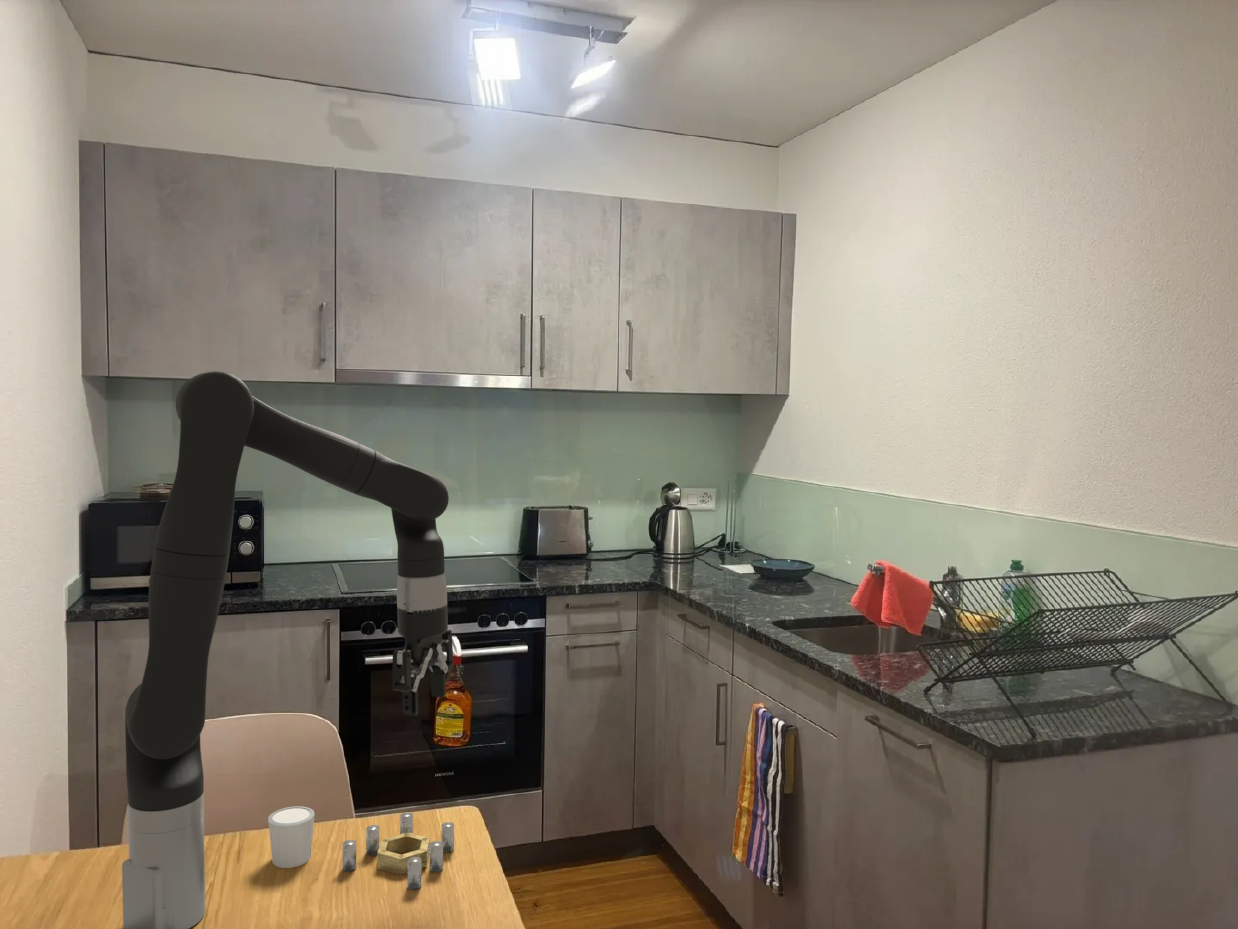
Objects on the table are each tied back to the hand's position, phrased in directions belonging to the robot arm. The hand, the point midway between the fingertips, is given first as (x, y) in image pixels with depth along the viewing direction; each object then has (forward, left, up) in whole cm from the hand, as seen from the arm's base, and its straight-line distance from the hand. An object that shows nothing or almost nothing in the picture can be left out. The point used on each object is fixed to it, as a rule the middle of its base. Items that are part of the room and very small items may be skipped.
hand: (425, 705), depth 142 cm
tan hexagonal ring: (-2, +2, -24) cm, 25 cm away
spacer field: (-2, +2, -24) cm, 25 cm away
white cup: (-9, +18, -25) cm, 32 cm away
